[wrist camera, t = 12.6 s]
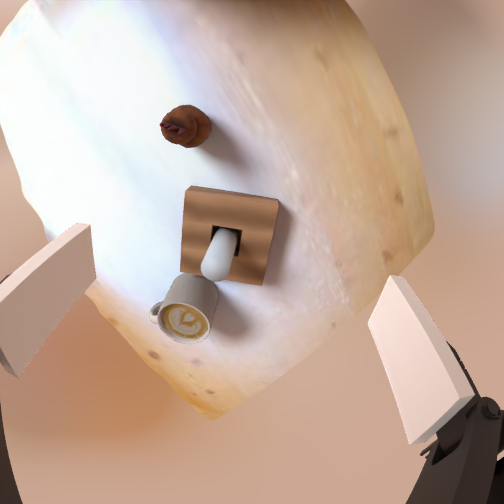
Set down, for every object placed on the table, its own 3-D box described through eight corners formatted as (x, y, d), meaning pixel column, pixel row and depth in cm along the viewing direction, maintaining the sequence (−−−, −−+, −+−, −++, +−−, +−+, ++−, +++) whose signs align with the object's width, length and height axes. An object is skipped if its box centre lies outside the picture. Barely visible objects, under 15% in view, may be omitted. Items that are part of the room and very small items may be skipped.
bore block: (191, 185, 47) (185, 191, 43) (277, 199, 47) (278, 206, 44) (185, 261, 53) (180, 271, 50) (262, 274, 54) (261, 285, 50)
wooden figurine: (222, 126, 42) (202, 129, 29) (197, 151, 44) (168, 165, 30) (193, 100, 40) (161, 92, 27) (170, 124, 42) (130, 129, 28)
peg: (217, 222, 48) (202, 253, 38) (240, 226, 48) (231, 259, 38) (214, 242, 50) (199, 278, 39) (236, 246, 50) (227, 283, 39)
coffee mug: (216, 272, 54) (206, 303, 45) (220, 312, 59) (213, 345, 50) (152, 271, 55) (134, 300, 46) (161, 309, 59) (147, 340, 50)
